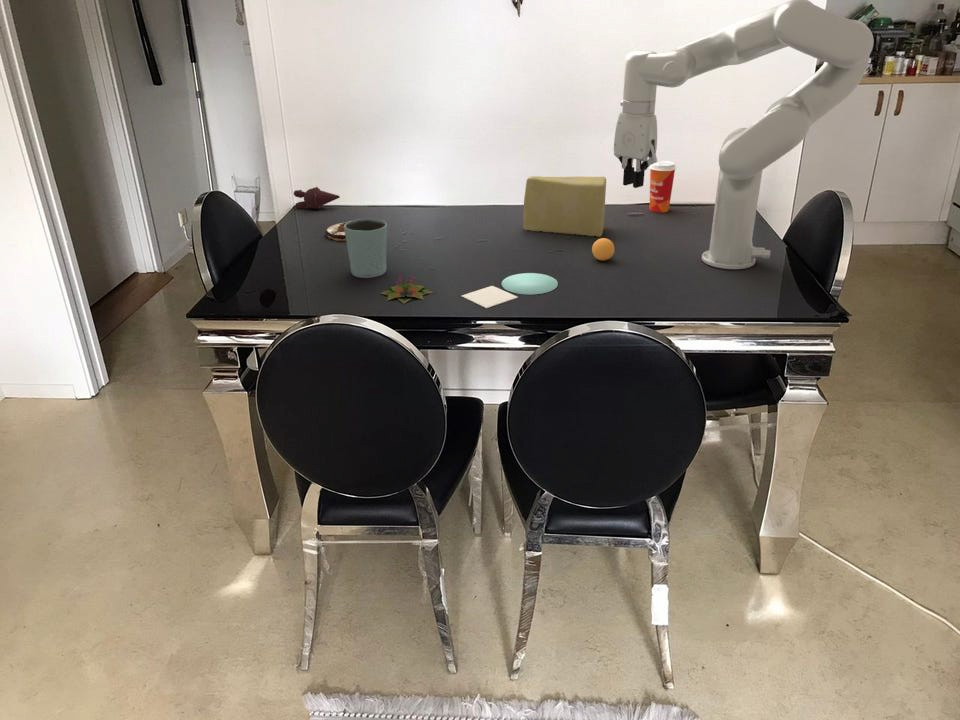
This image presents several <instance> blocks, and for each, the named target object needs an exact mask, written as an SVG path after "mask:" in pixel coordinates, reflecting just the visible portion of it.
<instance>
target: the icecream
mask: <svg viewBox="0 0 960 720" xmlns="http://www.w3.org/2000/svg"><path fill="white" fill-rule="evenodd" d="M293 196H295V197H296V198H298V199H299V198H300V199H303V201H298V202H296V203H294V204H295V205H294V206H295V209H298V210H300V209H305V208H306V207H307V208H310V209H315V210H322V208H323V206H325V205H326V204H328V203H332V202H333V201H335V200H338V199H340V198H341V197H340V195H338V194H334V193H331V192H327V191H324V190H321V189H320V188H319V187H318V186H316V187H313V188H309V189H307V190H306V191H302V189H297V190H294V191H293Z"/></svg>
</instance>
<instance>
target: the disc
mask: <svg viewBox="0 0 960 720" xmlns="http://www.w3.org/2000/svg"><path fill="white" fill-rule="evenodd" d="M558 284H559V283H558V280H557V279H556V278H554V277H553V276H550V275H548V274H544V273H538V272H537V273H536V272H525V273H523V272H522V273H517V274H512V275H508V276H507V277H505V278H504V279H503V280H502V281H501V286H502V288H503V289H504V290H506V292H509V293H513V294H517V295H527V296H528V295H529V296H530V295H532V296H533V295H541V294H546V293H549V292H552V291H554V290H555V289H556V288H557V287H558Z"/></svg>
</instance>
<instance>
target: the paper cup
mask: <svg viewBox="0 0 960 720" xmlns="http://www.w3.org/2000/svg"><path fill="white" fill-rule="evenodd" d="M648 168H649V170H650V171H649V173H650V174H649V175H650V176H649V178H650V179H649V211H650V212H651V213H655V214H656V213H657V214H663V213H667V212H669V210H670V204H671V198H672V192H673V186H674V178H675V171H676V169H677V167H676V163H675V162H674V161H668V160H657V162H656V163H654V164H651V165H650V166H649V167H648Z"/></svg>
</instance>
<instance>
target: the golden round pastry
mask: <svg viewBox="0 0 960 720" xmlns="http://www.w3.org/2000/svg"><path fill="white" fill-rule="evenodd" d="M349 221H350V220H347V221H345V222H340V223H335V224H333V225H331V226H329V227H327V228H326V229H325V235H326V236H327V238H328V239H330V240H333V241H337V242H347V241H346V235H345V230H344V225H345V224H346V223H347V222H349Z"/></svg>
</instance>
